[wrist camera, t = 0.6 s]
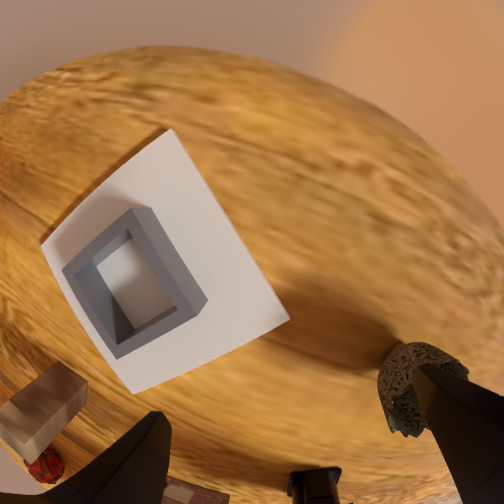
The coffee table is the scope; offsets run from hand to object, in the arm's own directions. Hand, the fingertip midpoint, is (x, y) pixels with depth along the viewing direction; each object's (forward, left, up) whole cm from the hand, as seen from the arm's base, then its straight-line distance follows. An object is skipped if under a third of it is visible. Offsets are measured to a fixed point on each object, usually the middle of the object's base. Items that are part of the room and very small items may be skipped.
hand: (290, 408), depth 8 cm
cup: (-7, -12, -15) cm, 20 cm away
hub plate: (+1, +11, -14) cm, 18 cm away
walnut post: (-13, +24, -14) cm, 31 cm away
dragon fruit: (-35, +40, -15) cm, 55 cm away
